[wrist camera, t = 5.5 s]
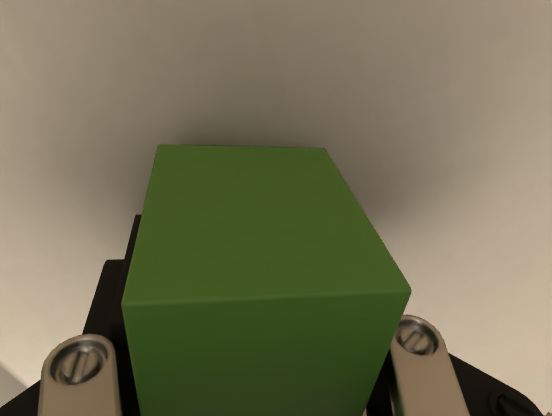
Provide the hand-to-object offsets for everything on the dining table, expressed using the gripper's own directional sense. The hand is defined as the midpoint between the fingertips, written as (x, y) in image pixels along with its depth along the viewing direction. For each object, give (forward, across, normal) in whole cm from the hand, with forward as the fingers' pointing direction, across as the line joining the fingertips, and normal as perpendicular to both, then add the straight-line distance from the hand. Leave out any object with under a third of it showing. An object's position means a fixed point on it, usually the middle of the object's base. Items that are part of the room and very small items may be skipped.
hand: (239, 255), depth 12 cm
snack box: (0, 0, 0) cm, 0 cm away
